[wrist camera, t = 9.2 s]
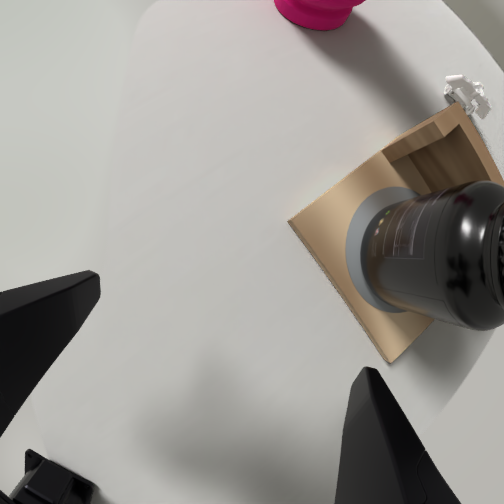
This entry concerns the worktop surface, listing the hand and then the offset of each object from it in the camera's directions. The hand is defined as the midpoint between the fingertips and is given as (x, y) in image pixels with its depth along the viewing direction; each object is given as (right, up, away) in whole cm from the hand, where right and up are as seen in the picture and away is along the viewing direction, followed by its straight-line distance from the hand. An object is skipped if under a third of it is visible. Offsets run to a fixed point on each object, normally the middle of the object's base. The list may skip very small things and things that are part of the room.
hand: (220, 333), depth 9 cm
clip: (+19, +16, +12) cm, 27 cm away
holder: (+11, +3, +11) cm, 15 cm away
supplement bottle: (+11, +2, +10) cm, 15 cm away
